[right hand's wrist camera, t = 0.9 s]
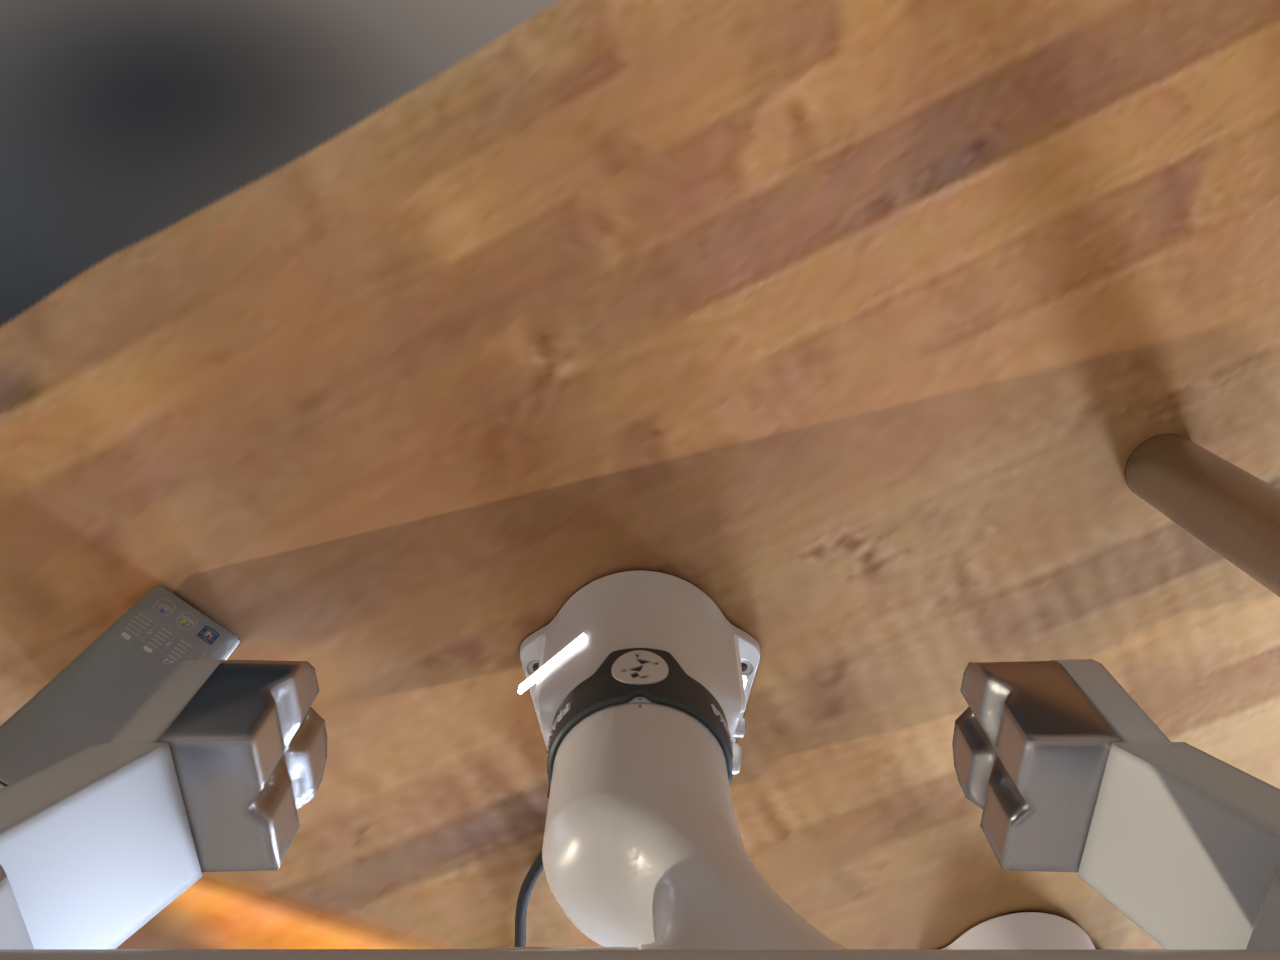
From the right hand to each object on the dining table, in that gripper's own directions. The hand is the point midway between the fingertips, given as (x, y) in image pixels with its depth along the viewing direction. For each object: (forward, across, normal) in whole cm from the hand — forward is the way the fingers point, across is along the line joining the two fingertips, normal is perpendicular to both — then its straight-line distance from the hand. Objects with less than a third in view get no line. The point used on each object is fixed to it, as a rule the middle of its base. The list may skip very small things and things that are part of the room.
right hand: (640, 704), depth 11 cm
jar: (+48, +38, -15) cm, 63 cm away
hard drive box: (+48, -39, -33) cm, 70 cm away
